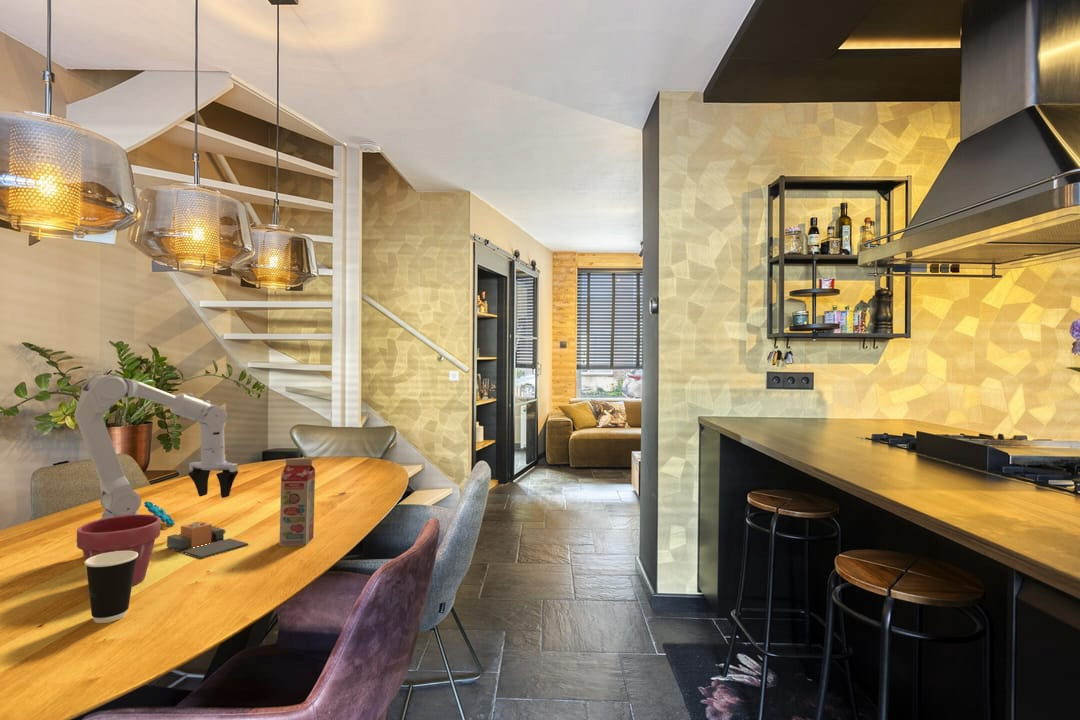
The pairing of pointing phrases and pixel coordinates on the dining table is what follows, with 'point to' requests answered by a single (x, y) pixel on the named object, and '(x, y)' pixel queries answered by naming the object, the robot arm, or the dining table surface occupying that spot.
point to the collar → (197, 534)
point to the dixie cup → (110, 584)
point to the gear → (159, 513)
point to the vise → (183, 542)
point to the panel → (215, 548)
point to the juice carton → (297, 503)
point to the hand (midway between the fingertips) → (214, 496)
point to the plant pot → (121, 538)
